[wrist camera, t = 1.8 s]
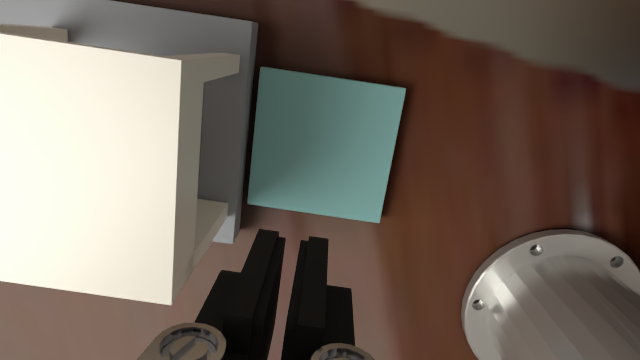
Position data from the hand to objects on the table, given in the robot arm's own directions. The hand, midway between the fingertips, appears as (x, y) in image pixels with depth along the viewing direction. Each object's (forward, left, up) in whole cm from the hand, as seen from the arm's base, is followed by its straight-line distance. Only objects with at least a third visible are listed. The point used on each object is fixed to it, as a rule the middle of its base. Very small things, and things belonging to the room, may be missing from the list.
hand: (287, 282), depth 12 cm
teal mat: (-1, 0, -17) cm, 17 cm away
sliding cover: (+10, 0, -15) cm, 18 cm away
